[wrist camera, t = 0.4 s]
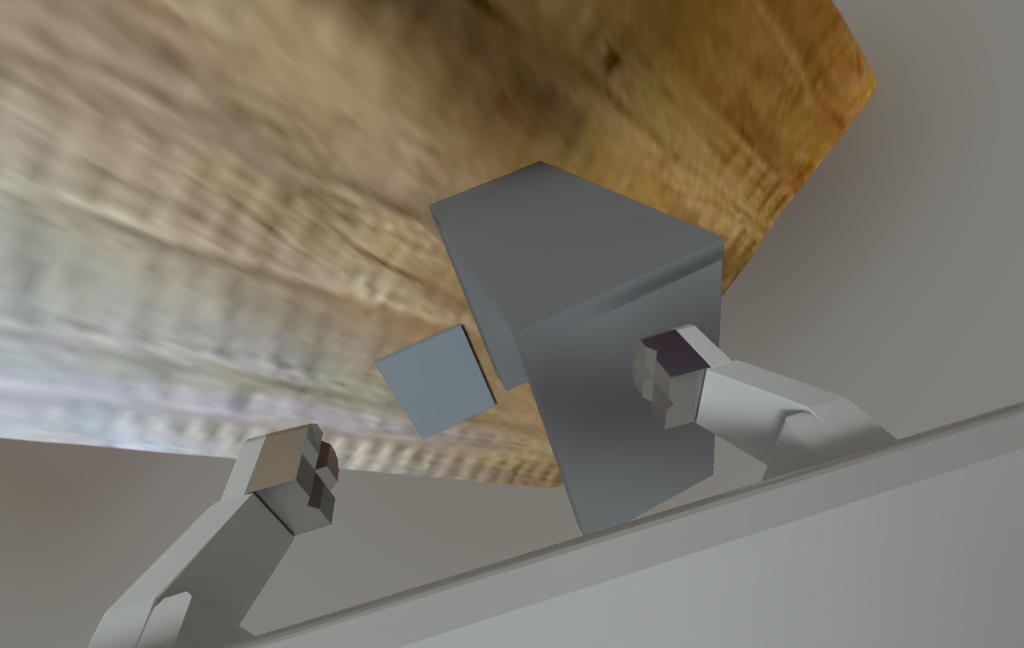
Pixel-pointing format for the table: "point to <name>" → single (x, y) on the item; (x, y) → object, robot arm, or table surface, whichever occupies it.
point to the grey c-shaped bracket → (587, 324)
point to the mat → (437, 381)
